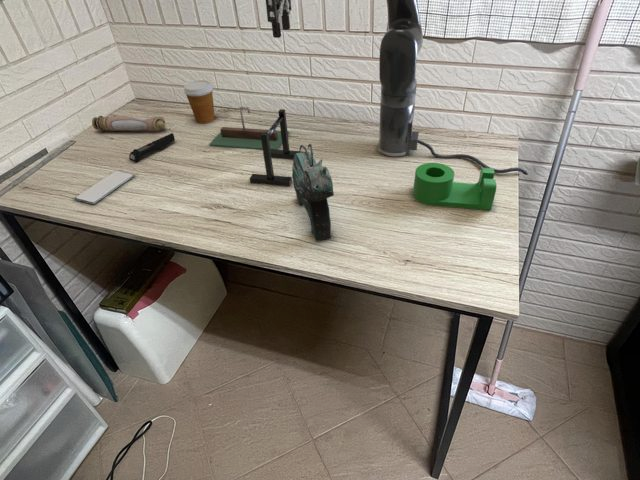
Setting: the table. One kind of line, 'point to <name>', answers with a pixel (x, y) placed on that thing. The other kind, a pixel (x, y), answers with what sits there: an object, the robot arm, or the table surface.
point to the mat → (245, 142)
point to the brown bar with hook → (245, 131)
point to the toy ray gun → (313, 191)
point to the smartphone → (104, 187)
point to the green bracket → (453, 188)
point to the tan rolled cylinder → (128, 123)
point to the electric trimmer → (151, 147)
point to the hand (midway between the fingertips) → (282, 33)
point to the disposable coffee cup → (200, 100)
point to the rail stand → (275, 154)
